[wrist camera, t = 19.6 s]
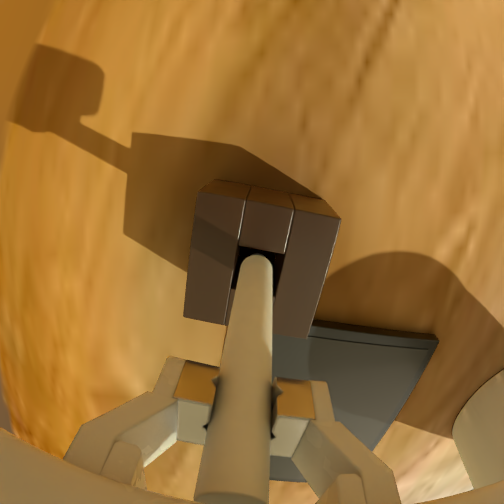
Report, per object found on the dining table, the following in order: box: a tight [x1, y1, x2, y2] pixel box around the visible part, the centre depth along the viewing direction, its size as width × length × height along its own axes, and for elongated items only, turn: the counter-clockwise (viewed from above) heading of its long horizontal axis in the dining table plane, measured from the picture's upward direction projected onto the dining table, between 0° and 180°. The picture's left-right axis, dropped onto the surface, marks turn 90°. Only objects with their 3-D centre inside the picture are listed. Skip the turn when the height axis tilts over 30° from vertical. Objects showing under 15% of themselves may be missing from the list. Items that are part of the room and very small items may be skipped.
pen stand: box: [183, 179, 341, 339], centre depth 19 cm, size 7×7×5 cm
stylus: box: [194, 253, 272, 504], centre depth 11 cm, size 2×2×13 cm
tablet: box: [269, 319, 439, 482], centre depth 26 cm, size 16×22×1 cm
